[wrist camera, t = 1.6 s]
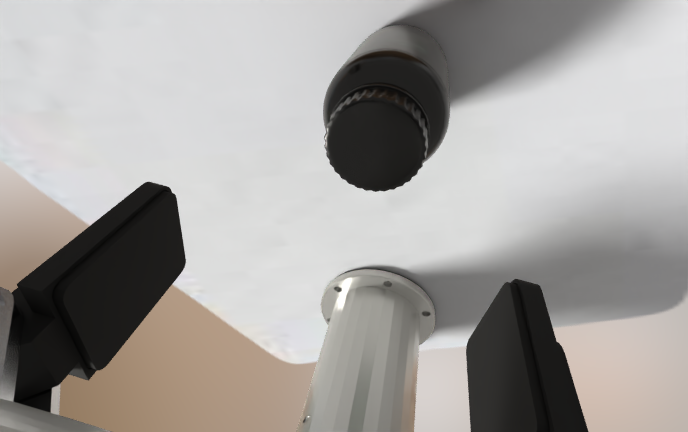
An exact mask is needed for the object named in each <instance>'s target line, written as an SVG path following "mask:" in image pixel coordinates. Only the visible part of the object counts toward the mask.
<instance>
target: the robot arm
mask: <svg viewBox="0 0 688 432" xmlns="http://www.w3.org/2000/svg"><path fill="white" fill-rule="evenodd" d="M185 263H186V259H185V252H184V245H183V239H182V232H181V226H180V219H179V212H178V206H177V199H176V195H175V194H173V193H172V191H171V189H170V188H169V187H167V186H163V185H159V184H156V183H152V182H146V183H144V184H142V185H141V186H140V187H139V188H137V189H136V190H135V191H134V192H132V193H131V194H130V195H129V196H127V197H126V198H125V199H124V200H122V201H121V202H120V203H118V204H117V205H116V206H115V207H113V208H112V209H111V210H110V211H108V212H107V213H106V214H105V215H103V216H102V217H101V218H100V219H98V220H97V221H96V222H94V223H93V224H92V225H91V226H89V227H88V228H87V229H86V230H84V231H83V232H82V233H81V234H79V235H78V236H77V237H76V238H74V239H73V240H72V241H71V242H69V243H68V244H67V245H65V246H64V247H63V248H62V249H60V250H59V251H58V252H57V253H55V254H54V255H53V256H52V257H50V258H49V259H48V260H47V261H45V262H44V263H43V264H41V265H40V266H39V267H38V268H36V269H35V270H34V271H33V272H31V273H30V274H29V275H28V276H26V277H25V278H24V279H22V280H21V281H20V282H19V283H18V284H17V286H18V288H17V289H16V290H14V291H13V292H12V293H11V292H10V291H9V290H6V289H4V288H2V287H0V432H111V431H108V430H105V429H102V428H99V427H96V426H92V425H89V424H85V423H83V422H79V421H76V420H73V419H70V418H66V417H63V416H60V415H59V402H60V383H61V382H62V381H63V380H64V379H65V377H66V376H67V375H68V374H69V375H73V376H76V377H79V378H82V379H85V380H89V379H90V378H91V377H92V375H93V374H94V373H95V372H96V371H97V370H101V369H103V368H104V367H106V366H107V364H108V363H109V362H110V361H111V360H112V358H113V357H114V356H115V355H116V353H117V352H118V351H119V349H120V348H121V347H122V346H123V345H124V343H125V342H126V341H127V340H128V338H129V337H130V336H131V334H132V333H133V332H134V331H135V330H136V328H137V327H138V326H139V325H140V323H141V322H142V321H143V320H144V318H145V317H146V316H147V315H148V313H149V312H150V311H151V310H152V308H153V307H154V306H155V304H156V303H157V302H158V301H159V300H160V299H161V297H162V296H163V295H164V293H165V292H166V291H167V290H168V288H169V287H170V286H171V285H172V284H173V282H174V281H175V280H176V279H177V277H178V276H179V275H180V274H181V272H182V271H183V269H184V267H185ZM321 312H322V314H323V317H324V319H325V321H326V322H327V324H328V329H327V332H326V335H325V339H324V342H323V345H322V348H321V352H320V355H319V358H318V362H317V365H316V369H315V372H314V375H313V378H312V382H311V385H310V389H309V392H308V395H307V399H306V402H305V405H304V408H303V412H302V415H301V418H300V422H299V425H298V428H297V432H414V420H415V402H416V386H417V385H416V384H417V369H418V352H419V345H420V344H422V343H423V342H425V341H426V340H427V339H428V338H429V337H430V335H431V334H432V332H433V330H434V327H435V308H434V306H433V303H432V301H431V299H430V298H429V297H428V295H427V294H426V293H425V292H424V291H423V290H422V289H421V288H420V287H419V286H418V285H416V284H415V283H413V282H412V281H410V280H408V279H406V278H404V277H402V276H400V275H397V274H394V273H391V272H387V271H381V270H370V269H363V270H355V271H351V272H348V273H344V274H342V275H340V276H338V277H336V278H335V279H334V280H333V281H331V282H330V283H329V285H328V286H327V287H326V289H325V292H324V294H323V297H322V301H321ZM466 356H467V373H468V390H469V406H470V424H471V432H588V429H587V426H586V422H585V419H584V416H583V413H582V409H581V406H580V403H579V399H578V396H577V393H576V389H575V386H574V383H573V379H572V376H571V373H570V369H569V366H568V363H567V359H566V356H565V353H564V351H563V348H562V346H561V345H560V344H559V343H558V342H556V338H555V335H554V331H553V328H552V324H551V321H550V318H549V314H548V311H547V307H546V304H545V300H544V297H543V293H542V290H541V288H540V286H539V285H537V284H534V283H530V282H526V281H522V280H518V279H515V280H513V281H512V282H511V283H508V282H506V283H505V284H504V285H503V286H502V288H501V290H500V291H499V293H498V294H497V296H496V298H495V299H494V301H493V302H492V304H491V305H490V307H489V309H488V310H487V312H486V313H485V315H484V316H483V318H482V320H481V321H480V323H479V324H478V326H477V327H476V329H475V331H474V332H473V334H472V335H471V337H470V338H469V340H468V343H467V349H466Z"/></svg>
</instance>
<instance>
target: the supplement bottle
mask: <svg viewBox="0 0 688 432" xmlns="http://www.w3.org/2000/svg"><path fill="white" fill-rule="evenodd" d="M449 116H450V102H449V80H448V68H447V62H446V58H445V56H444V53H443V51H442V49H441V47H440V46H439V44H438V43H437V42H436V41H435V39H434V38H433V37H432V36H430V35H429V34H428V33H426V32H425V31H423V30H421V29H419V28H416V27H413V26H409V25H392V26H388V27H385V28H382V29H380V30H378V31H376V32H374V33H373V34H372V35H370V36H369V37H368V38H367V39H366V40H365V41H364V42H363V43H362V44H361V45H360V46H359V47H358V48H357V49H356V51H355V52H354V53H353V54H352V55H351V57H350V58H349V59H348V60H347V61H346V63H345V64H344V65H343V66H342V67H341V69H340V70H339V71H338V72H337V74H336V75H335V77H334V78H333V80H332V81H331V83H330V85H329V87H328V90H327V92H326V95H325V100H324V106H323V119H324V125H325V129H326V134H325V136H324V138H325V142H326V143H325V149H326V151H327V157H328V158H329V160H330V164H331V165H332V166H333V167H334V170H335V172H337V173H338V174H339V175H340V177H341V178H342V179H344V180H346V181H347V182H348V183H349V184H352V185H355V186H356V187H357V188H363V189H364V190H372V191H375V192H376V191H387V190H389V189H395V188H396V187H399V186H403V185H404V183H405V182H408V181H410V180H411V178H412V177H413V176H415V175H417V173H418V170H419V169H420V168H421V167H422V166H423V163H424V162H425V161H427V160H428V159H429V158H430V157H431V156H432V155H433V154H434V153H435V152H436V150H437V149H438V148H439V146H440V145H441V143H442V141H443V139H444V137H445V134H446V132H447V128H448V124H449Z"/></svg>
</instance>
